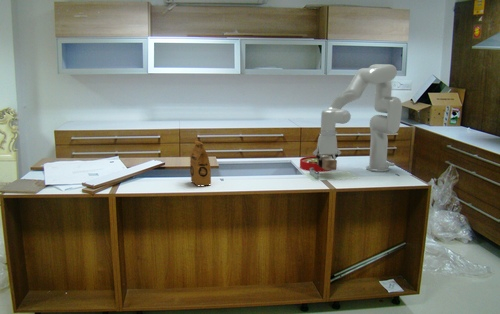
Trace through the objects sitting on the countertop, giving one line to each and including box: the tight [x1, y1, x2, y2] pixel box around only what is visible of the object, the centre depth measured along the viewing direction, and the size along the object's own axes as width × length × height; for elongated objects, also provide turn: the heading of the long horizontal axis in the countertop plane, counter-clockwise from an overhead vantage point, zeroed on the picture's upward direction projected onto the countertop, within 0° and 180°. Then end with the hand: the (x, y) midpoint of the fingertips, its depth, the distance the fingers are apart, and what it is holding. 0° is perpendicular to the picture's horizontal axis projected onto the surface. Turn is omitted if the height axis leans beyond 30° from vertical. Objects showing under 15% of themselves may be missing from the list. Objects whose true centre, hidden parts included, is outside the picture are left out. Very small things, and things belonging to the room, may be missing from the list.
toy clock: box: [299, 155, 331, 172], centre depth 268 cm, size 20×6×20 cm
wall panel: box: [303, 170, 359, 182], centre depth 249 cm, size 26×16×1 cm, turn 100°
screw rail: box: [309, 168, 320, 181], centre depth 247 cm, size 2×13×4 cm, turn 10°
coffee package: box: [189, 140, 212, 186], centre depth 236 cm, size 10×12×22 cm
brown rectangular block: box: [317, 154, 338, 171], centre depth 247 cm, size 6×14×5 cm, turn 10°
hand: (326, 166), depth 248 cm, fingers closed on brown rectangular block, 6 cm apart
